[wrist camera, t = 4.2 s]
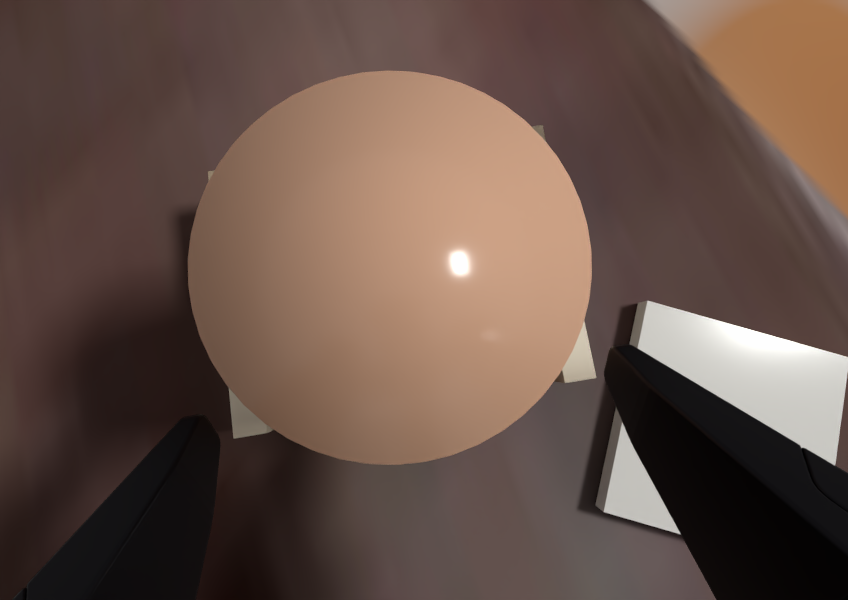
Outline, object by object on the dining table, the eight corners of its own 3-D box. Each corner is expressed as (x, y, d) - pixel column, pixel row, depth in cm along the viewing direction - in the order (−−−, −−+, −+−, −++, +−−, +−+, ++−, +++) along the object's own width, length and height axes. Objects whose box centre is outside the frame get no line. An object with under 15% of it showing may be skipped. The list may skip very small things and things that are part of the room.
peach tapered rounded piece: (493, 385, 19) (631, 426, 7) (339, 410, 18) (206, 500, 7) (466, 236, 20) (548, 48, 8) (319, 258, 19) (172, 97, 8)
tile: (802, 565, 18) (820, 574, 17) (595, 505, 18) (603, 511, 17) (831, 357, 19) (849, 357, 18) (637, 303, 19) (647, 300, 19)
